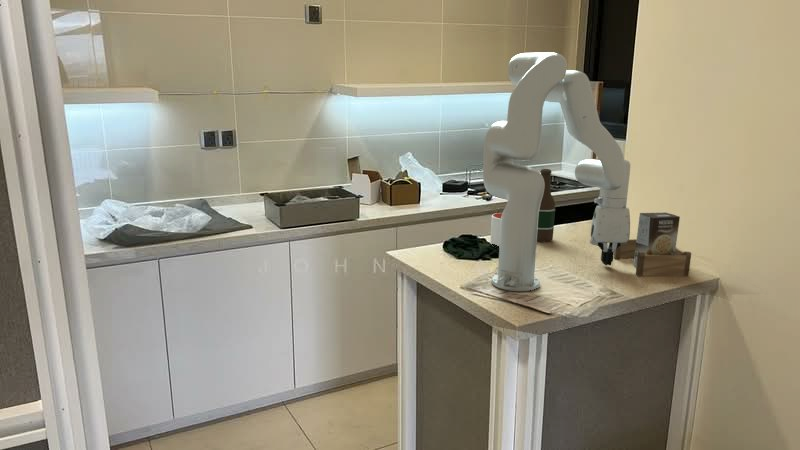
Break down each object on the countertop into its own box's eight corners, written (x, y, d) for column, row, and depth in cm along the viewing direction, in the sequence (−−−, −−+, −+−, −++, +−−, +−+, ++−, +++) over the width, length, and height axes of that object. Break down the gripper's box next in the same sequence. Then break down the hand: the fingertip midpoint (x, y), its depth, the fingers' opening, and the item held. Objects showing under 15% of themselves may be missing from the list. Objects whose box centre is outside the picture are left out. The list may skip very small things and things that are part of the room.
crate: (688, 276, 177) (691, 252, 176) (637, 276, 176) (640, 252, 175) (659, 258, 194) (662, 236, 193) (613, 258, 194) (615, 236, 192)
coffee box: (646, 272, 180) (652, 217, 176) (632, 265, 186) (638, 212, 182) (673, 270, 182) (680, 216, 179) (659, 264, 188) (665, 211, 185)
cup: (488, 241, 210) (489, 212, 208) (518, 242, 210) (519, 213, 208) (492, 250, 201) (494, 219, 198) (524, 250, 201) (526, 219, 198)
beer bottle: (527, 241, 212) (531, 170, 206) (531, 235, 219) (536, 167, 213) (550, 243, 209) (556, 171, 204) (554, 238, 216) (559, 168, 211)
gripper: (591, 204, 176) (585, 267, 180) (643, 205, 177) (636, 268, 181) (582, 199, 183) (577, 260, 188) (632, 200, 184) (626, 260, 188)
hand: (606, 263), depth 184 cm, fingers closed
